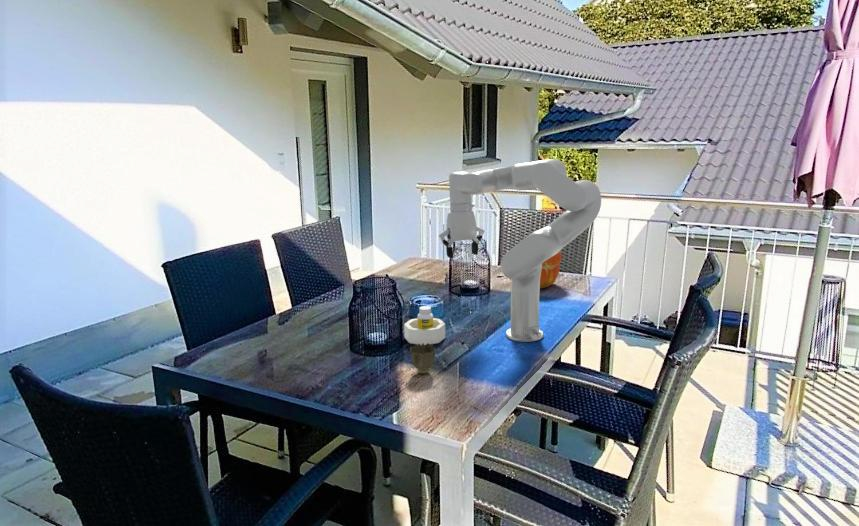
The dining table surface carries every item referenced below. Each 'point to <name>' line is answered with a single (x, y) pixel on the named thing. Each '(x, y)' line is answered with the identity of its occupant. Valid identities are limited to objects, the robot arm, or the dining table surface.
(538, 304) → the robot arm
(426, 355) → the cup
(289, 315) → the dining table surface
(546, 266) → the pumpkin
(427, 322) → the supplement bottle
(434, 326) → the white round bowl
